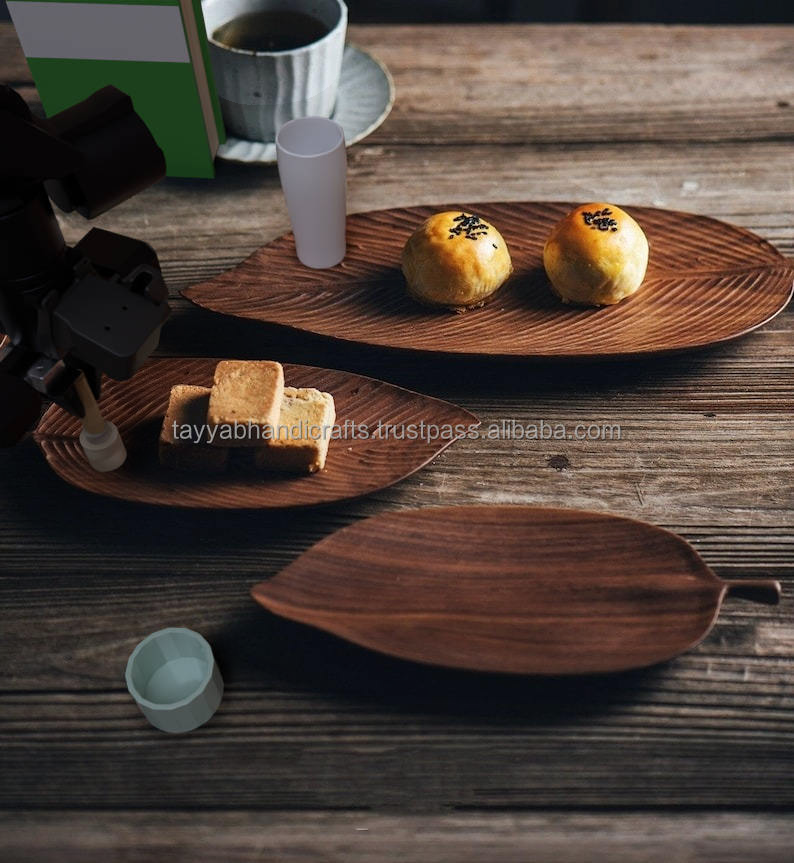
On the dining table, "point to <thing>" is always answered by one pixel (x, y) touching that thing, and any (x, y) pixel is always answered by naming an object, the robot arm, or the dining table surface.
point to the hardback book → (130, 67)
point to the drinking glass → (314, 187)
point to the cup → (175, 679)
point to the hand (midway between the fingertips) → (86, 406)
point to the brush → (98, 433)
